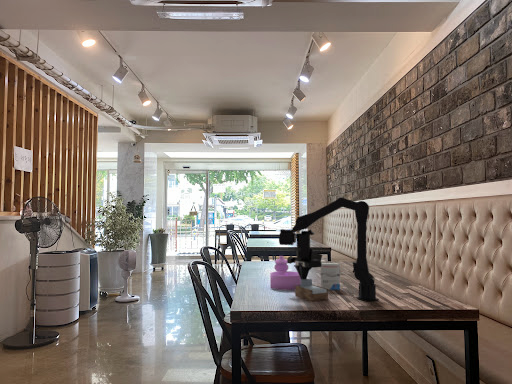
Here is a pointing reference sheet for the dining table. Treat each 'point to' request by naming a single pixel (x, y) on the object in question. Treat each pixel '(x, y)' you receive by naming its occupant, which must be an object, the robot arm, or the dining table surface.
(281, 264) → the container set
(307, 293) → the case
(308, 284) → the lid
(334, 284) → the ink box
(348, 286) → the dining table surface
